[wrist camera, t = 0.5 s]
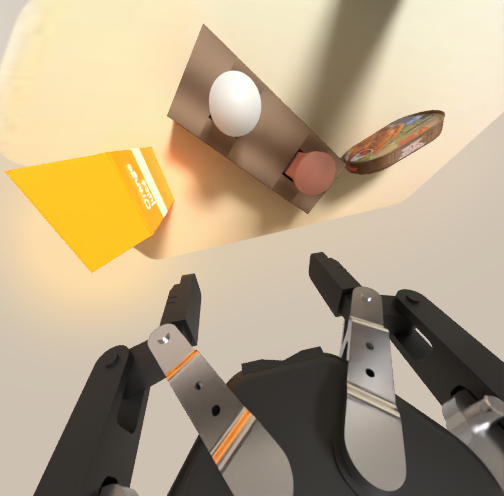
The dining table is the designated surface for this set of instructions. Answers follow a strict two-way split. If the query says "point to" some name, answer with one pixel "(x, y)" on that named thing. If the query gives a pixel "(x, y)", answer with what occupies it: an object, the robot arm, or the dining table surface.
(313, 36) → the dining table surface
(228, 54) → the block
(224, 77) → the white rounded piece
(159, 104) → the dining table surface
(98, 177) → the orange juice
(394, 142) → the tin
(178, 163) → the dining table surface
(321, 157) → the brick plunger
